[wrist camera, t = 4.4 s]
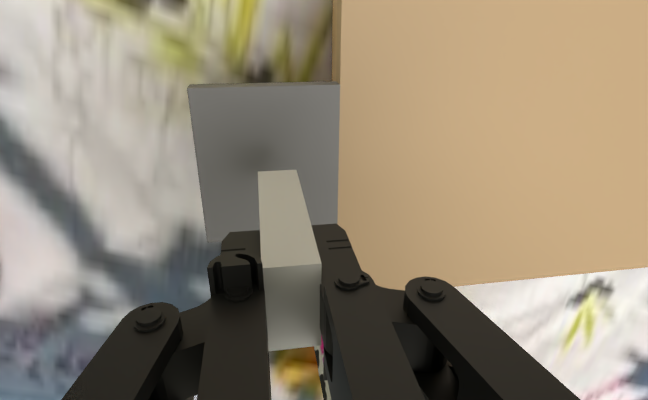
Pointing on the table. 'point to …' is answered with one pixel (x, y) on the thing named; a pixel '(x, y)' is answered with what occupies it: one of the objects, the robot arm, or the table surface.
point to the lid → (452, 139)
